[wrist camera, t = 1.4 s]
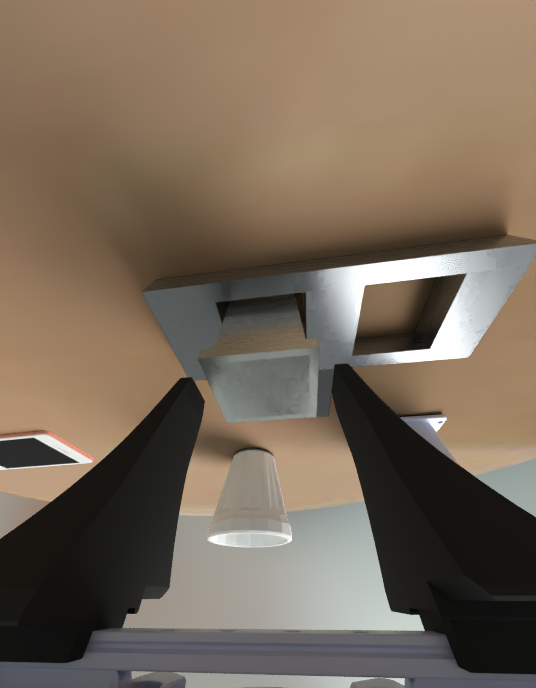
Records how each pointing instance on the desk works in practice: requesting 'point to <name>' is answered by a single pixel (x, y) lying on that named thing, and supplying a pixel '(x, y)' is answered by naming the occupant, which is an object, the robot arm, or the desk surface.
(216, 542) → the cup
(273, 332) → the grey boxy piece
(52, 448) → the cell phone
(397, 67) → the desk surface
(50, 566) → the robot arm
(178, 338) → the grey flat block
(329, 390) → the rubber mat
